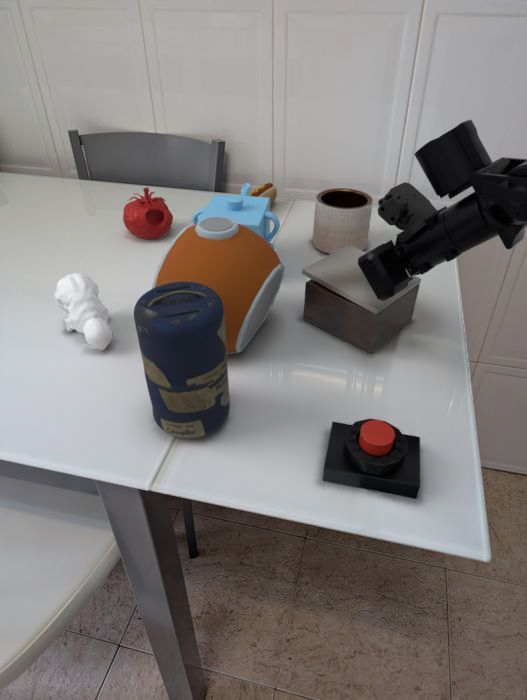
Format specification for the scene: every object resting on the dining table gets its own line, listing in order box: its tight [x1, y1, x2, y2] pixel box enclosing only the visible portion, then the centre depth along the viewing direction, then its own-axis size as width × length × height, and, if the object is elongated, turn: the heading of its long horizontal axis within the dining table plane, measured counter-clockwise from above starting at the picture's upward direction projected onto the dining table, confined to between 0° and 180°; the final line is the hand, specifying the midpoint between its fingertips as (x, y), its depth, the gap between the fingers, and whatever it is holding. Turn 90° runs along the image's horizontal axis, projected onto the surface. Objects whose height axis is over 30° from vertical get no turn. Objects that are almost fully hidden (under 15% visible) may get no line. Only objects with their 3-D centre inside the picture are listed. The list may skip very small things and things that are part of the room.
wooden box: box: [302, 279, 421, 354], centre depth 76 cm, size 13×12×7 cm
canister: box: [133, 281, 231, 440], centre depth 56 cm, size 10×10×18 cm
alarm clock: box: [151, 217, 285, 356], centre depth 71 cm, size 19×18×17 cm
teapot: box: [191, 182, 281, 250], centre depth 90 cm, size 18×16×13 cm
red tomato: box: [122, 187, 174, 240], centre depth 100 cm, size 10×10×9 cm
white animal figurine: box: [54, 272, 116, 351], centre depth 72 cm, size 6×8×12 cm
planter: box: [312, 187, 374, 255], centre depth 96 cm, size 11×11×10 cm
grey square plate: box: [301, 245, 422, 314], centre depth 74 cm, size 13×12×1 cm
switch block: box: [322, 418, 421, 500], centre depth 55 cm, size 10×7×4 cm
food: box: [250, 182, 278, 206], centre depth 111 cm, size 14×6×5 cm, turn 150°
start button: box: [359, 419, 395, 456], centre depth 53 cm, size 4×4×2 cm
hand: (370, 276), depth 73 cm, fingers closed, pressing on grey square plate
